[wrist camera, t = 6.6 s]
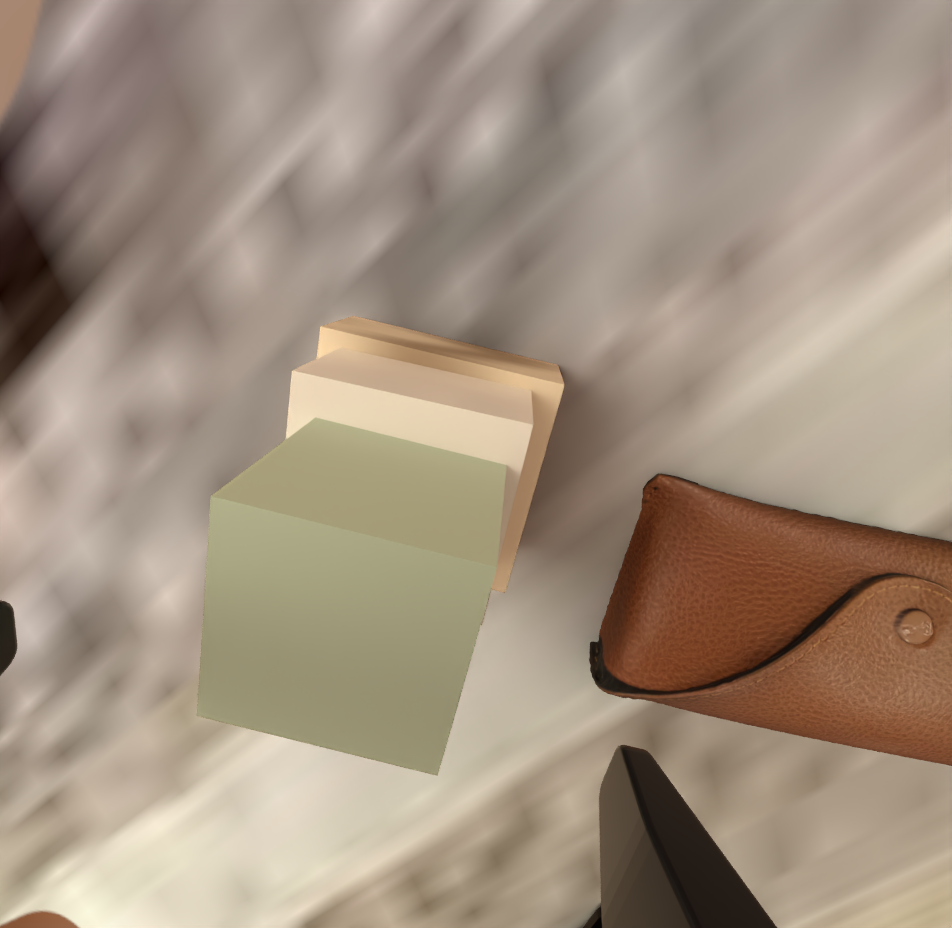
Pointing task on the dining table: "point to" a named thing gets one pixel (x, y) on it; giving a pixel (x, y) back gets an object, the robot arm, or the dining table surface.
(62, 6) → the dining table surface
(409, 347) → the tower base
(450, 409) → the tower mid
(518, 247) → the dining table surface
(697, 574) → the sunglasses case
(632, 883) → the robot arm
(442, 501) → the sage cube
